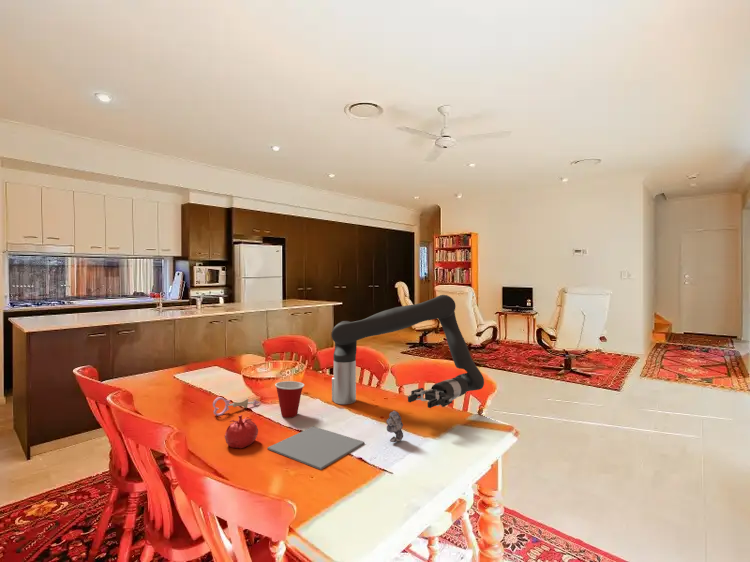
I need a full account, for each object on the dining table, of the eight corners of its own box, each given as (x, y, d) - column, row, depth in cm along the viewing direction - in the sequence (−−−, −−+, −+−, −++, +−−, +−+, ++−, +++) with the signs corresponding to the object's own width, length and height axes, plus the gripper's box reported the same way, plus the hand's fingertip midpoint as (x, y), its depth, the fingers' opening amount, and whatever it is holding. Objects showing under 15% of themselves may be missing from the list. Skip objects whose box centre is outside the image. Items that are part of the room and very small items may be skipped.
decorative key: (260, 411, 162) (212, 416, 148) (258, 410, 163) (210, 415, 149) (262, 394, 163) (215, 398, 148) (261, 394, 164) (213, 397, 149)
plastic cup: (309, 416, 148) (308, 384, 148) (280, 422, 143) (280, 389, 142) (298, 408, 158) (298, 378, 157) (271, 413, 152) (271, 382, 152)
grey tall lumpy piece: (398, 446, 123) (398, 414, 123) (383, 442, 126) (383, 411, 126) (406, 440, 128) (406, 409, 127) (391, 436, 130) (391, 406, 130)
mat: (267, 449, 121) (267, 447, 121) (313, 427, 138) (313, 426, 138) (320, 469, 109) (320, 467, 109) (364, 443, 125) (364, 441, 125)
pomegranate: (264, 440, 128) (264, 412, 128) (242, 453, 119) (242, 422, 119) (240, 435, 132) (240, 407, 132) (217, 447, 123) (217, 417, 123)
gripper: (430, 377, 151) (402, 387, 139) (462, 384, 141) (435, 395, 129) (430, 397, 151) (402, 408, 139) (463, 405, 141) (435, 418, 129)
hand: (418, 402), depth 134 cm, fingers open, 8 cm apart
